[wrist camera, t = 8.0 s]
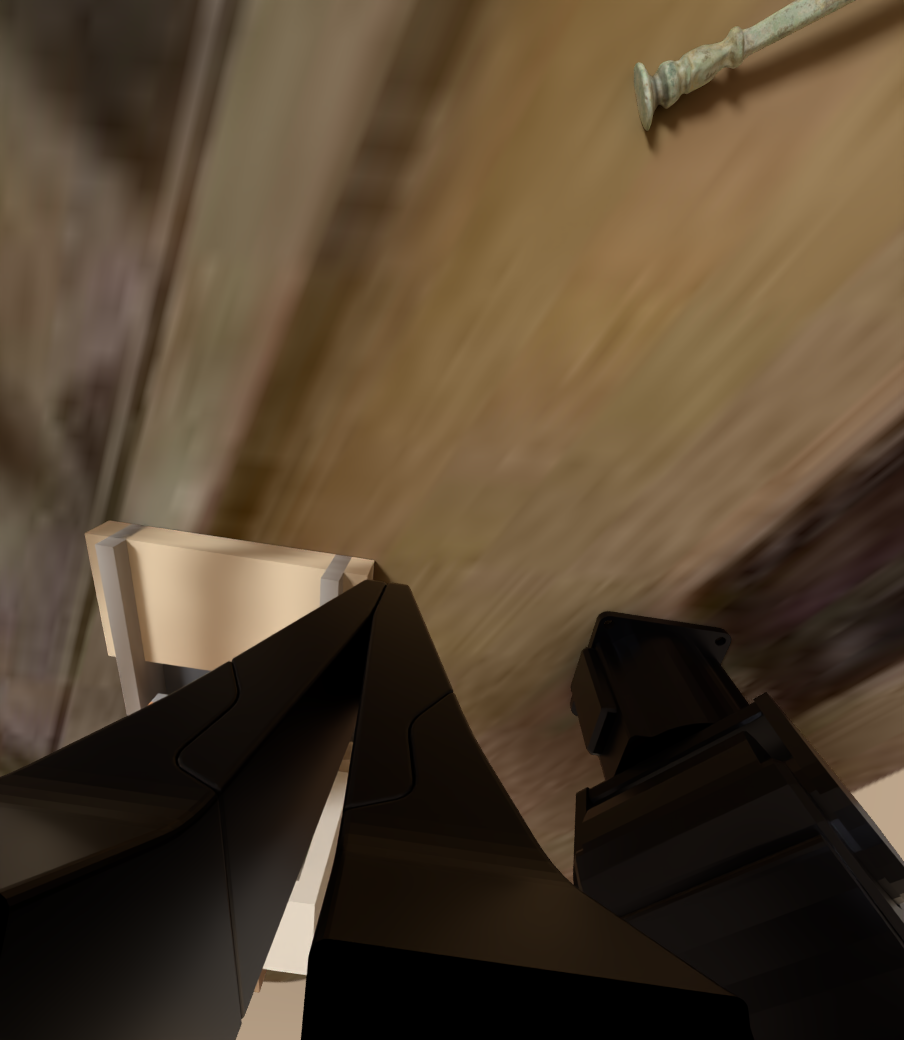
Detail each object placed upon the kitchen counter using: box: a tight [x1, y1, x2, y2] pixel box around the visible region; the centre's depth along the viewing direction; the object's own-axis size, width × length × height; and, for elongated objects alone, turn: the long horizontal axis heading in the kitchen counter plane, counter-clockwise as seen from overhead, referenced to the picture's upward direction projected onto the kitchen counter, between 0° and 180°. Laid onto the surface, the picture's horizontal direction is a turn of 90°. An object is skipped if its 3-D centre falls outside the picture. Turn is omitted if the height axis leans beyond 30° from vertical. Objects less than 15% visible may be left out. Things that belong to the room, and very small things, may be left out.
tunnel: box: [263, 771, 348, 975], centre depth 24 cm, size 13×6×6 cm, turn 82°
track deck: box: [85, 521, 374, 860], centre depth 26 cm, size 13×26×2 cm, turn 172°
